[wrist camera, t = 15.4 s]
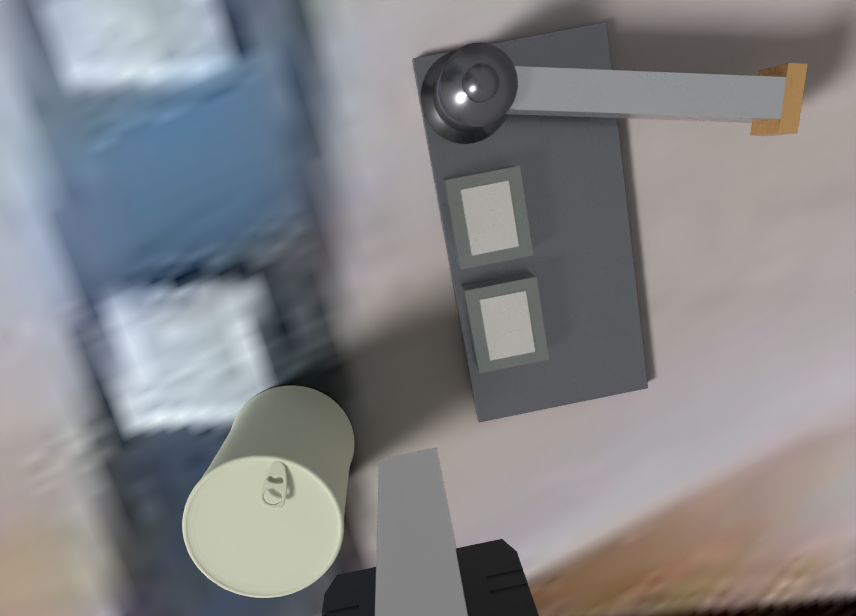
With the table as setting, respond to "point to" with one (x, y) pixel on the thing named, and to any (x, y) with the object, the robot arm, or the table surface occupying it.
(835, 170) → the table surface
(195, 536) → the can
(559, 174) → the tray
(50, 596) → the table surface
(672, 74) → the swing arm
